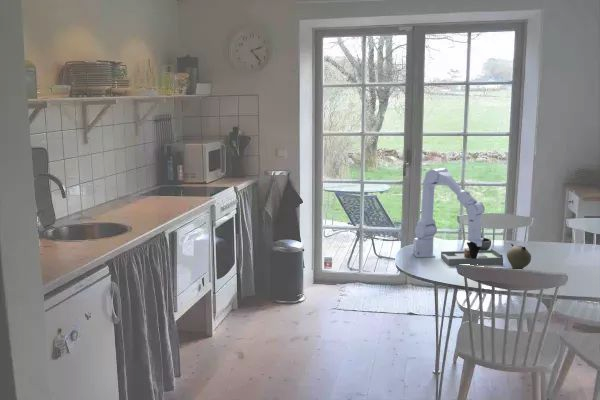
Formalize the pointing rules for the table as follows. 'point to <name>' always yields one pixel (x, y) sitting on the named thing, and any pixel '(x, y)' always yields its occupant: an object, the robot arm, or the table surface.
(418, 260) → the table surface
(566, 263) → the table surface
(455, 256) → the trap lane
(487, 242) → the mortar and pestle
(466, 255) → the block
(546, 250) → the table surface
